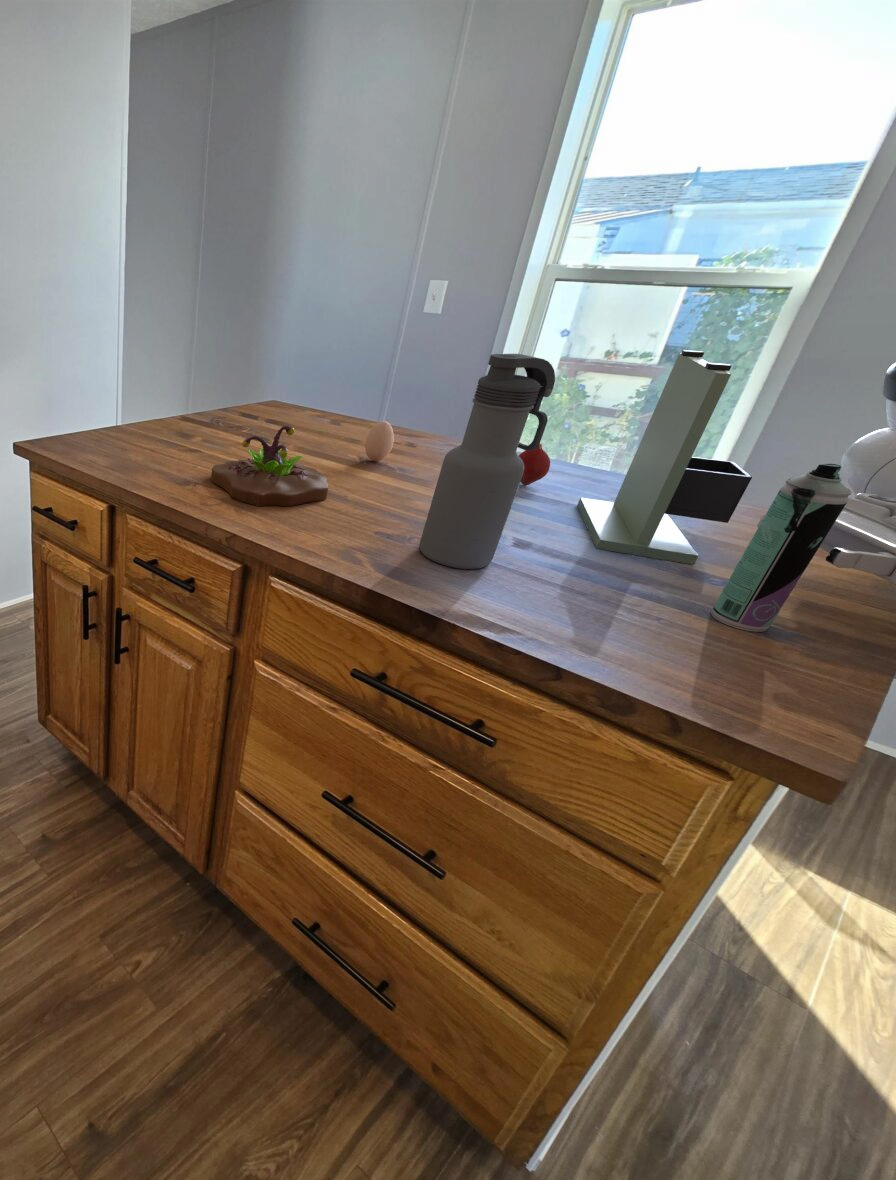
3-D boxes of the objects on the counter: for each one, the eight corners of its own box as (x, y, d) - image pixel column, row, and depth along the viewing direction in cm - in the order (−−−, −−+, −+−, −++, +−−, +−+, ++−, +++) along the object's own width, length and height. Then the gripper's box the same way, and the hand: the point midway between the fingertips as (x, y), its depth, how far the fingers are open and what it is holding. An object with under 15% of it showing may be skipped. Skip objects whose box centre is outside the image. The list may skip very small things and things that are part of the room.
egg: (389, 459, 137) (398, 419, 133) (387, 466, 132) (397, 425, 128) (362, 455, 139) (371, 416, 134) (360, 462, 134) (369, 422, 130)
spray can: (767, 637, 78) (869, 476, 68) (709, 620, 81) (797, 464, 71) (768, 620, 81) (864, 464, 71) (711, 604, 85) (796, 453, 75)
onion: (503, 478, 127) (516, 437, 123) (535, 481, 126) (550, 440, 122) (513, 488, 122) (527, 446, 118) (547, 491, 121) (562, 448, 117)
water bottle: (462, 539, 101) (523, 348, 87) (509, 568, 93) (585, 362, 79) (403, 544, 99) (457, 350, 85) (446, 574, 91) (513, 363, 77)
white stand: (685, 521, 109) (769, 353, 96) (724, 570, 93) (831, 376, 80) (577, 505, 115) (642, 344, 102) (596, 548, 99) (676, 364, 86)
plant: (347, 502, 115) (361, 439, 109) (245, 510, 110) (254, 445, 105) (291, 466, 131) (300, 410, 126) (200, 472, 127) (206, 414, 122)
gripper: (1007, 614, 68) (865, 608, 68) (829, 534, 85) (718, 529, 86) (1052, 560, 65) (903, 553, 65) (858, 488, 82) (742, 484, 83)
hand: (797, 539), depth 76 cm, fingers open, 8 cm apart
